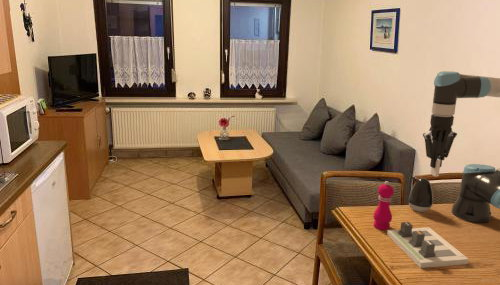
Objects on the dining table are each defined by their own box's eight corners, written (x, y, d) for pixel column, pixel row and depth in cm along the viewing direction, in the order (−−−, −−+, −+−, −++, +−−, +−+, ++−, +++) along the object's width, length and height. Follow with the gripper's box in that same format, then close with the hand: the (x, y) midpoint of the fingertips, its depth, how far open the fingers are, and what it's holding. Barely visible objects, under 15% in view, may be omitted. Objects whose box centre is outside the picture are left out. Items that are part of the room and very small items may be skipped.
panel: (428, 231, 159) (429, 226, 159) (467, 264, 137) (468, 258, 137) (386, 234, 156) (387, 229, 156) (420, 268, 134) (421, 262, 134)
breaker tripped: (420, 241, 148) (421, 229, 146) (425, 245, 144) (427, 234, 143) (409, 241, 147) (411, 230, 146) (414, 246, 144) (415, 235, 143)
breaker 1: (408, 231, 154) (410, 221, 153) (413, 236, 151) (414, 225, 150) (398, 232, 153) (399, 221, 152) (402, 236, 150) (403, 225, 149)
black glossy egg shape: (412, 202, 186) (416, 172, 182) (435, 210, 179) (440, 178, 175) (402, 209, 179) (407, 177, 175) (425, 216, 172) (430, 184, 168)
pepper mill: (391, 231, 158) (398, 185, 153) (373, 229, 160) (378, 183, 154) (389, 223, 165) (395, 178, 160) (371, 221, 167) (376, 177, 161)
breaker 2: (429, 251, 141) (431, 239, 140) (435, 256, 138) (437, 244, 137) (418, 252, 140) (420, 240, 139) (423, 257, 137) (425, 245, 136)
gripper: (451, 111, 149) (442, 170, 156) (420, 113, 146) (413, 173, 153) (465, 115, 142) (456, 177, 149) (433, 117, 139) (425, 180, 146)
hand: (434, 175), depth 151 cm, fingers closed
